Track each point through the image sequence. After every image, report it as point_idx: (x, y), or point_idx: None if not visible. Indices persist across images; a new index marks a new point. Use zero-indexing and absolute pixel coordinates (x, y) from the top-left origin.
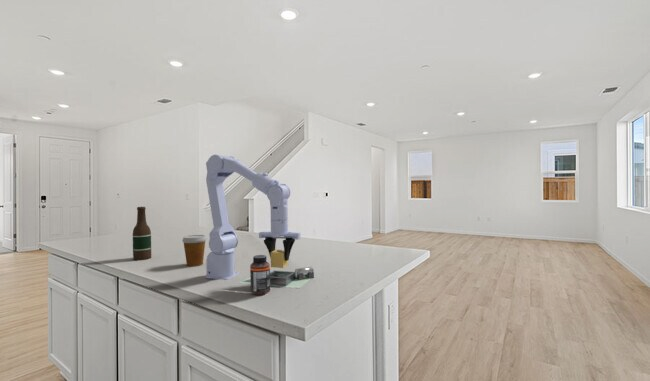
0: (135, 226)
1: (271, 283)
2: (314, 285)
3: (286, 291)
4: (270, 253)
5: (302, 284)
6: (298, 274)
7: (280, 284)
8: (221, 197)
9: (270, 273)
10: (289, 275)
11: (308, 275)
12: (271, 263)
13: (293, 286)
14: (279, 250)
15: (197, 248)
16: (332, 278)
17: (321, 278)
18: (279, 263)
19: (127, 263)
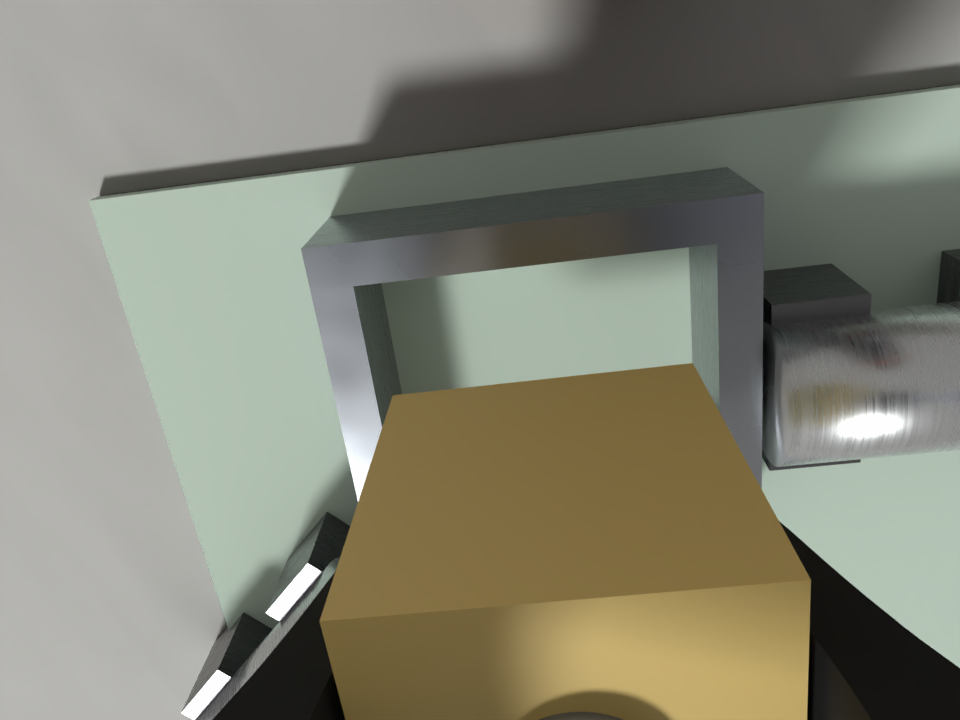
0: None
1: (587, 191)
2: (39, 426)
3: (215, 36)
4: (835, 612)
5: (163, 367)
6: (316, 565)
7: (424, 206)
8: None
9: (737, 413)
10: (354, 417)
11: (253, 649)
12: (692, 402)
13: (221, 240)
14: None
15: None
16: (31, 717)
17: (145, 683)
18: (476, 431)
19: None
